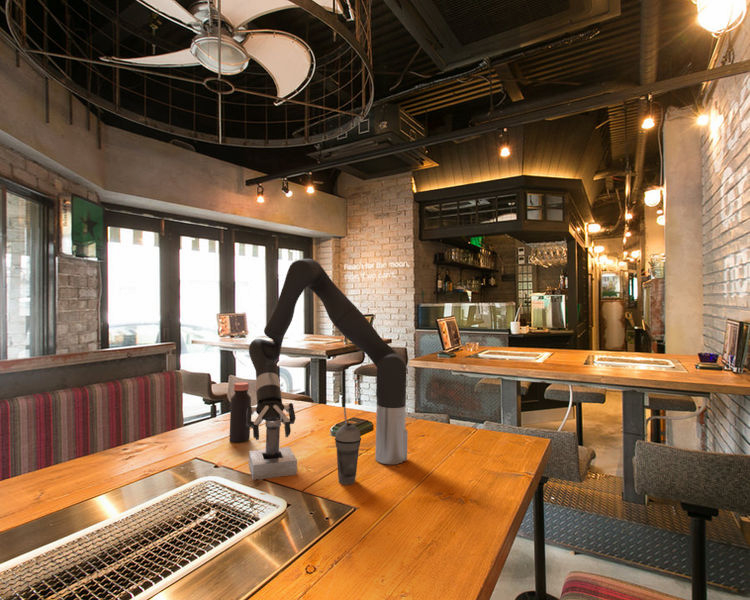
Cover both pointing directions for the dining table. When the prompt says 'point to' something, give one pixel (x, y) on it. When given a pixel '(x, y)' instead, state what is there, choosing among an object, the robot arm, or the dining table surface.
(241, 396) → the bottle
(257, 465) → the block
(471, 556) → the dining table surface
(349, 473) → the beverage cup
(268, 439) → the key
